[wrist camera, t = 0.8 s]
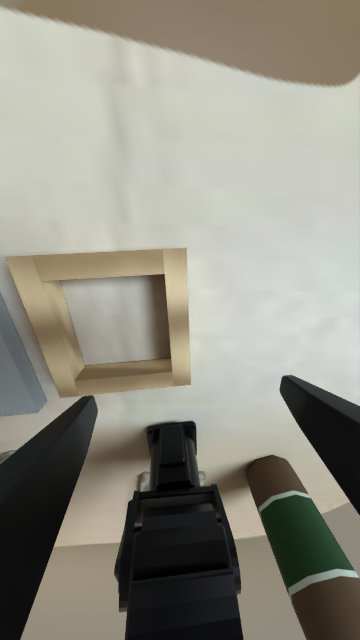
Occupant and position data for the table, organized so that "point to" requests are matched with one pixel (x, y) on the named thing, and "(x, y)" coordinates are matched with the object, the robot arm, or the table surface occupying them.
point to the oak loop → (58, 332)
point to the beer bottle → (306, 553)
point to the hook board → (16, 372)
